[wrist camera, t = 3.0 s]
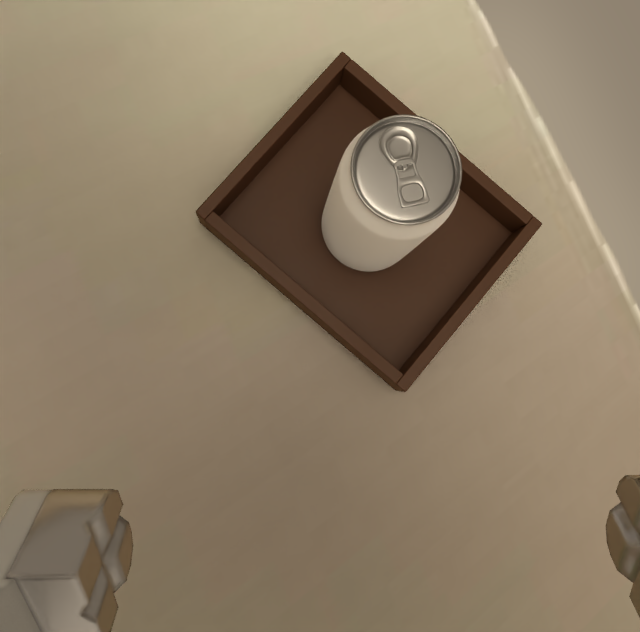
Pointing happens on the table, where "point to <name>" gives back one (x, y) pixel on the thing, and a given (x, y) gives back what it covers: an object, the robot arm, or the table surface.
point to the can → (390, 192)
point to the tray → (329, 273)
